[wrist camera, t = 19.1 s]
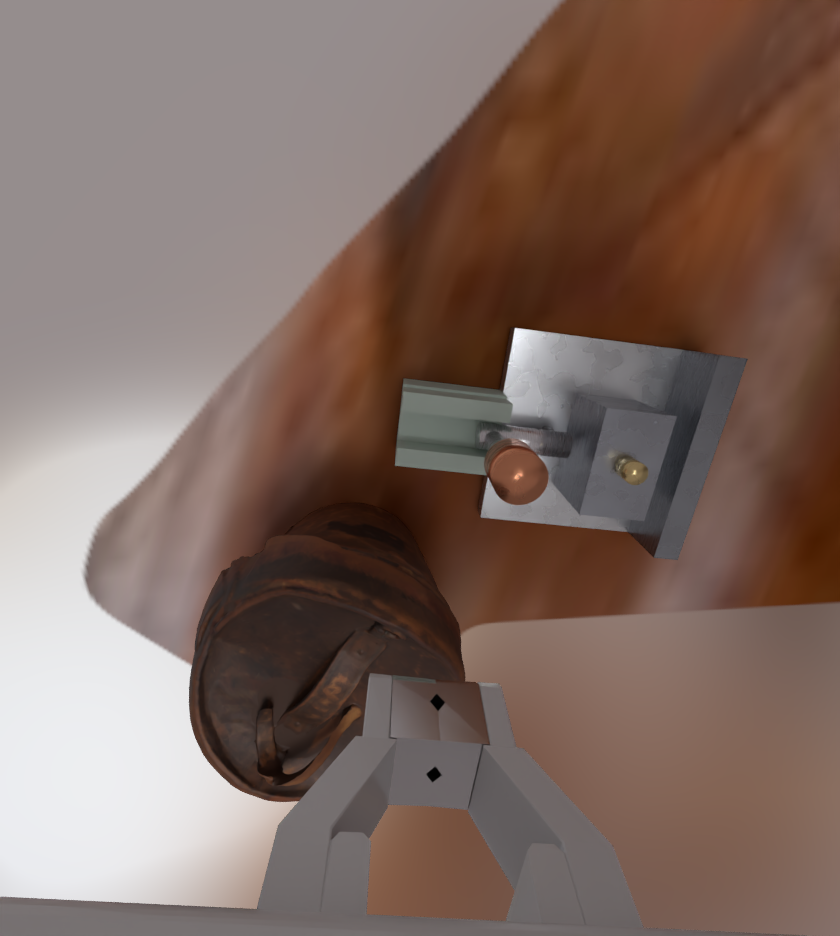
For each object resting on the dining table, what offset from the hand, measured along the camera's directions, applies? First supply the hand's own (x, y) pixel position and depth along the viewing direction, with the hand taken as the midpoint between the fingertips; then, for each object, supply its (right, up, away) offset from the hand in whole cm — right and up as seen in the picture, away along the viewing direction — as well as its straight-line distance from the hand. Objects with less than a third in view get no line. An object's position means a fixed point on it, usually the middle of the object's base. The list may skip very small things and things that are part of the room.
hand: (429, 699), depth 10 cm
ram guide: (+2, +9, +28) cm, 30 cm away
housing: (+14, +7, +28) cm, 32 cm away
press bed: (+14, +8, +29) cm, 33 cm away
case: (-7, -4, +33) cm, 34 cm away
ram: (+7, +8, +25) cm, 28 cm away
